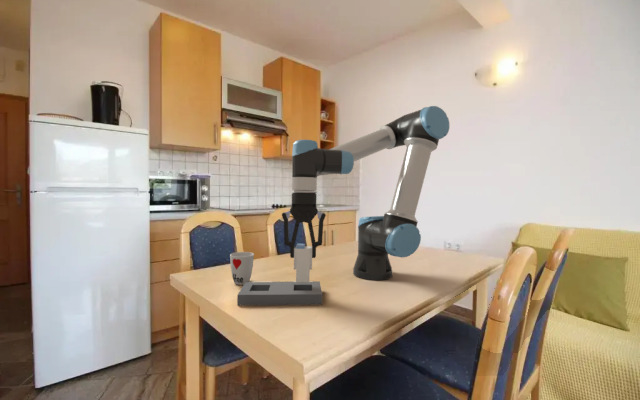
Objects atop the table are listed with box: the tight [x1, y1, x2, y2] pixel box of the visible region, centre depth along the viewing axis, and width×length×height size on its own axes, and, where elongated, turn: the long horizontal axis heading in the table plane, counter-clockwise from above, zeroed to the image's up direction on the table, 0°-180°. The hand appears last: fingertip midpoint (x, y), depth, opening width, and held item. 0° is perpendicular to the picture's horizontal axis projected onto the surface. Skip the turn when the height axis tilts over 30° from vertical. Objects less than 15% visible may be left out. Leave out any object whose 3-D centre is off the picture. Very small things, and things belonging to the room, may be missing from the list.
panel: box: [236, 280, 323, 306], centre depth 89 cm, size 24×12×3 cm, turn 93°
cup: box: [229, 251, 255, 286], centre depth 103 cm, size 8×8×10 cm
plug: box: [295, 243, 310, 282], centre depth 90 cm, size 4×4×11 cm
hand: (302, 268), depth 90 cm, fingers closed on plug, 4 cm apart
